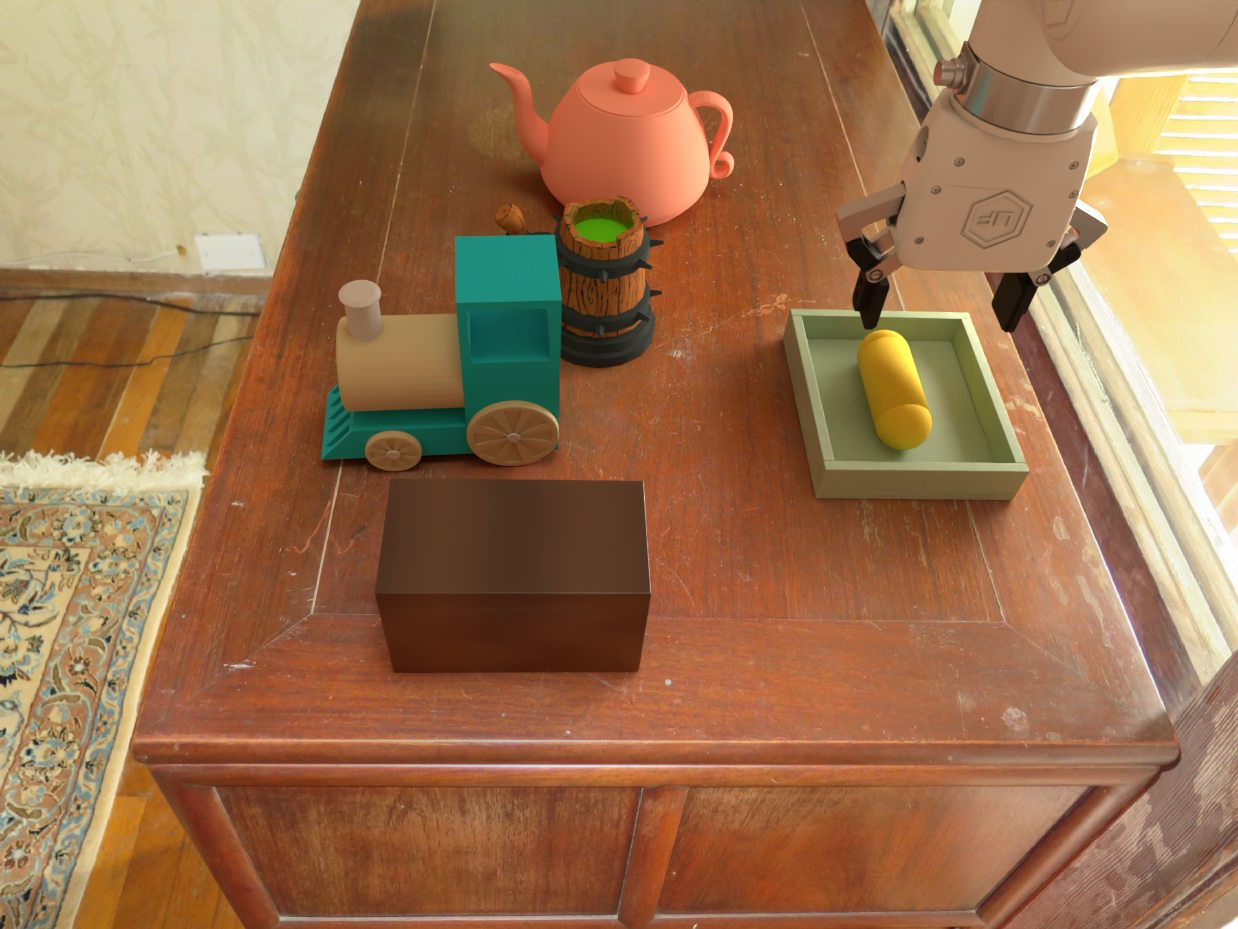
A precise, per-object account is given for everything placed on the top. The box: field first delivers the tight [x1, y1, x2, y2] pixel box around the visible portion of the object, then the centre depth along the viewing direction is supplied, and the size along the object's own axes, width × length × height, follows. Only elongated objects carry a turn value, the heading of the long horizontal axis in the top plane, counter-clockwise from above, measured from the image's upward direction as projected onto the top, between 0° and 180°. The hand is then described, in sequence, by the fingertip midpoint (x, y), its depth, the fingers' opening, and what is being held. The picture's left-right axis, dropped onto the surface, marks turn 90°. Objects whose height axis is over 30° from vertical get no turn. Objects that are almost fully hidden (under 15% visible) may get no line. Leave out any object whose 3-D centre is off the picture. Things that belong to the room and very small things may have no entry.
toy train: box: [320, 235, 562, 472], centre depth 67 cm, size 8×17×15 cm, turn 96°
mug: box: [493, 195, 665, 369], centre depth 76 cm, size 13×10×12 cm
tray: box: [782, 308, 1030, 501], centre depth 75 cm, size 17×15×3 cm
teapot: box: [489, 57, 735, 229], centre depth 88 cm, size 22×16×12 cm
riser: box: [374, 477, 652, 673], centre depth 60 cm, size 15×8×9 cm, turn 92°
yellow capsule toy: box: [857, 330, 932, 450], centre depth 74 cm, size 11×4×4 cm, turn 2°
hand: (933, 317), depth 68 cm, fingers open, 9 cm apart
